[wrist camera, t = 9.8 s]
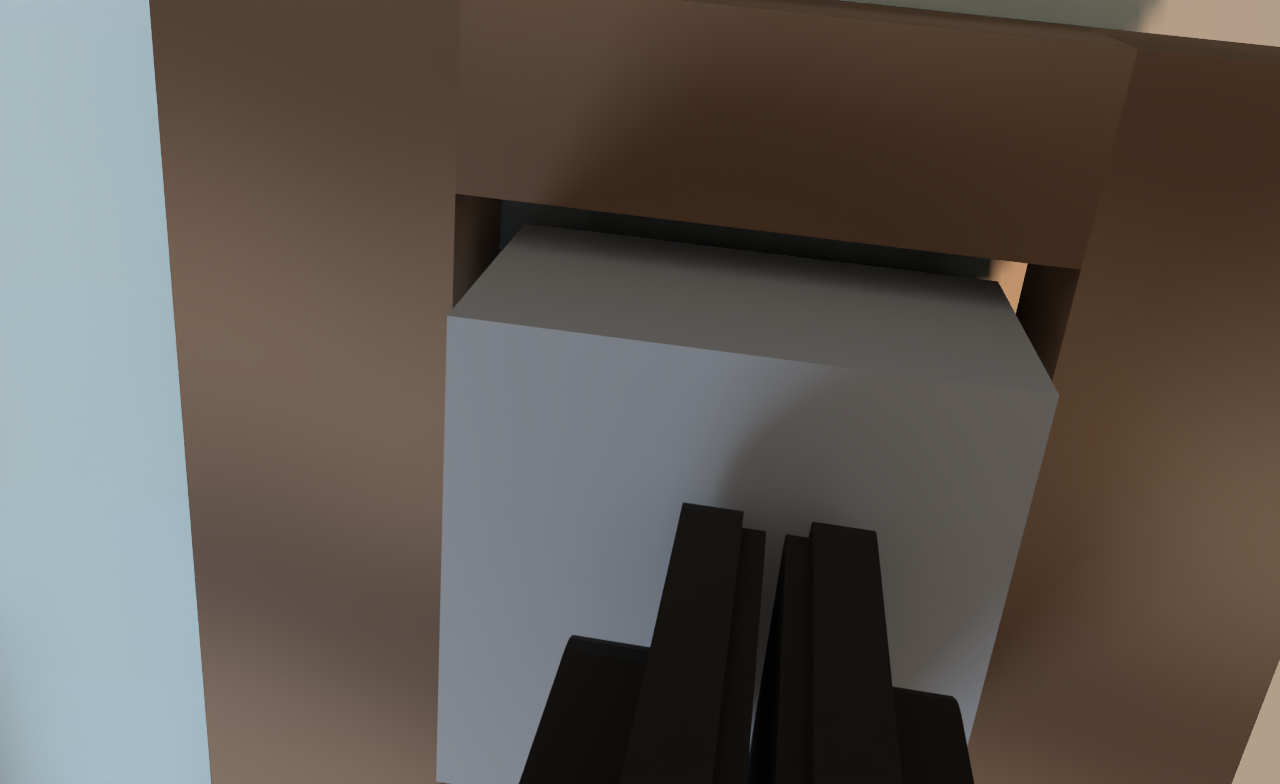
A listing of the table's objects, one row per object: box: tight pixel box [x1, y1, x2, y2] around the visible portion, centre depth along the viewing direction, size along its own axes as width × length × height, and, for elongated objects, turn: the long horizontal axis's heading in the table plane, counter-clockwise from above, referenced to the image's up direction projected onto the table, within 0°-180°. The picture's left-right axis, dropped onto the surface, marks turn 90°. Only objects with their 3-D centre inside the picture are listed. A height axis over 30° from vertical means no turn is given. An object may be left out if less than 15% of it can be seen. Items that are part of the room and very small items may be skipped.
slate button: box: [436, 223, 1059, 784], centre depth 12 cm, size 5×5×3 cm
